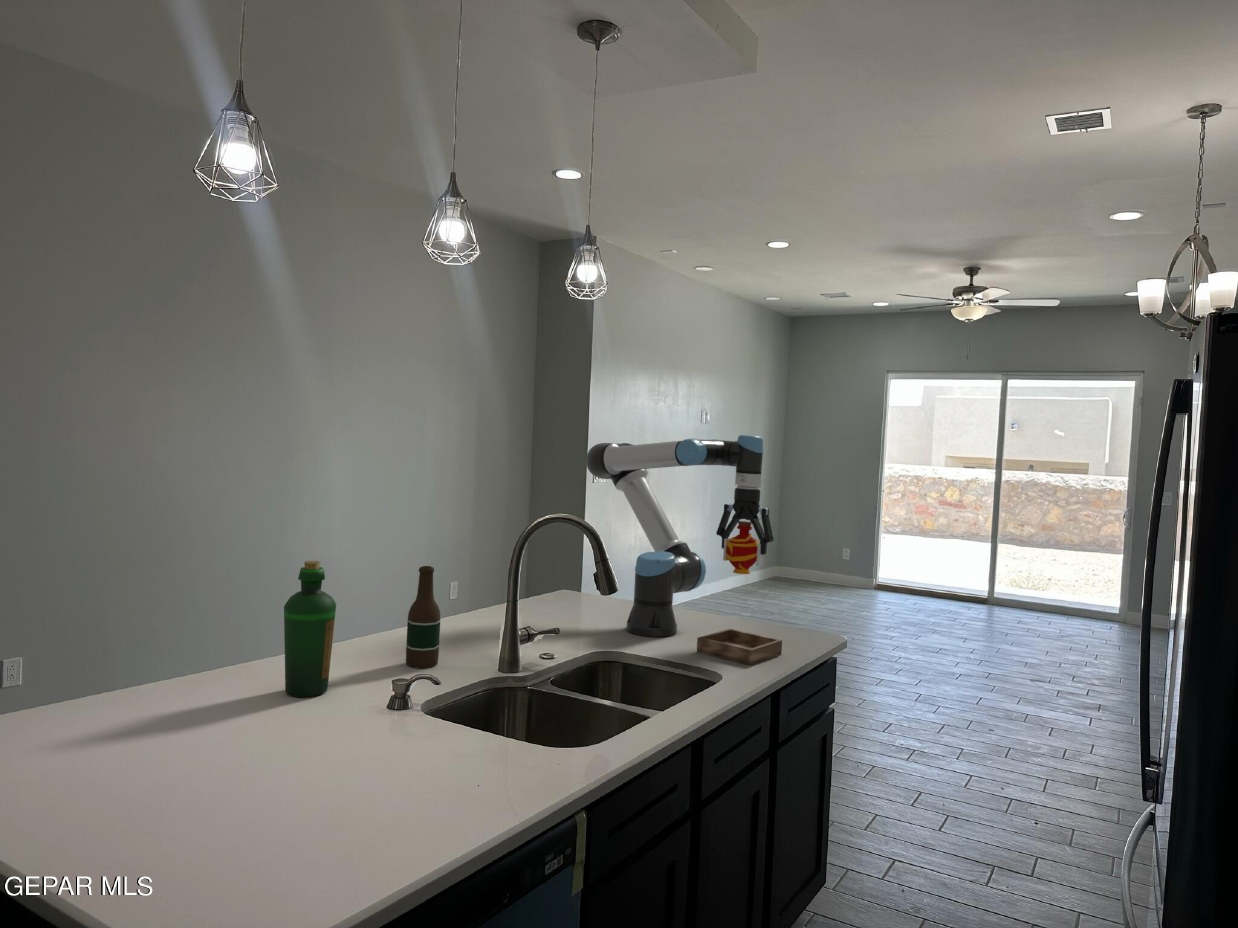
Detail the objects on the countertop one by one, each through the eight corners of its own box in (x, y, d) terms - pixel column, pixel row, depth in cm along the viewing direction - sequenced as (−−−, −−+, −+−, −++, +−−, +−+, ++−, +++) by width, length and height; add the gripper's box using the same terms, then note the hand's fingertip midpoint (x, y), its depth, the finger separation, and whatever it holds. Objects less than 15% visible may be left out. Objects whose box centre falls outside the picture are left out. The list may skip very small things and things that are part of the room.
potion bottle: (762, 576, 248) (765, 525, 247) (726, 574, 248) (730, 522, 247) (755, 570, 258) (759, 521, 258) (721, 568, 258) (725, 518, 258)
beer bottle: (421, 658, 214) (426, 562, 213) (444, 664, 210) (449, 567, 209) (398, 664, 208) (403, 566, 207) (422, 670, 204) (427, 570, 203)
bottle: (343, 691, 185) (349, 562, 184) (302, 703, 176) (308, 568, 175) (310, 681, 191) (315, 556, 190) (268, 692, 182) (274, 561, 180)
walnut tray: (696, 651, 236) (697, 637, 236) (728, 642, 249) (729, 628, 249) (750, 665, 226) (751, 650, 225) (781, 654, 239) (782, 640, 239)
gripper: (707, 484, 256) (702, 558, 257) (777, 491, 242) (772, 569, 243) (720, 484, 262) (715, 556, 263) (789, 491, 248) (783, 567, 249)
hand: (742, 562), depth 253 cm, fingers closed on potion bottle, 10 cm apart
